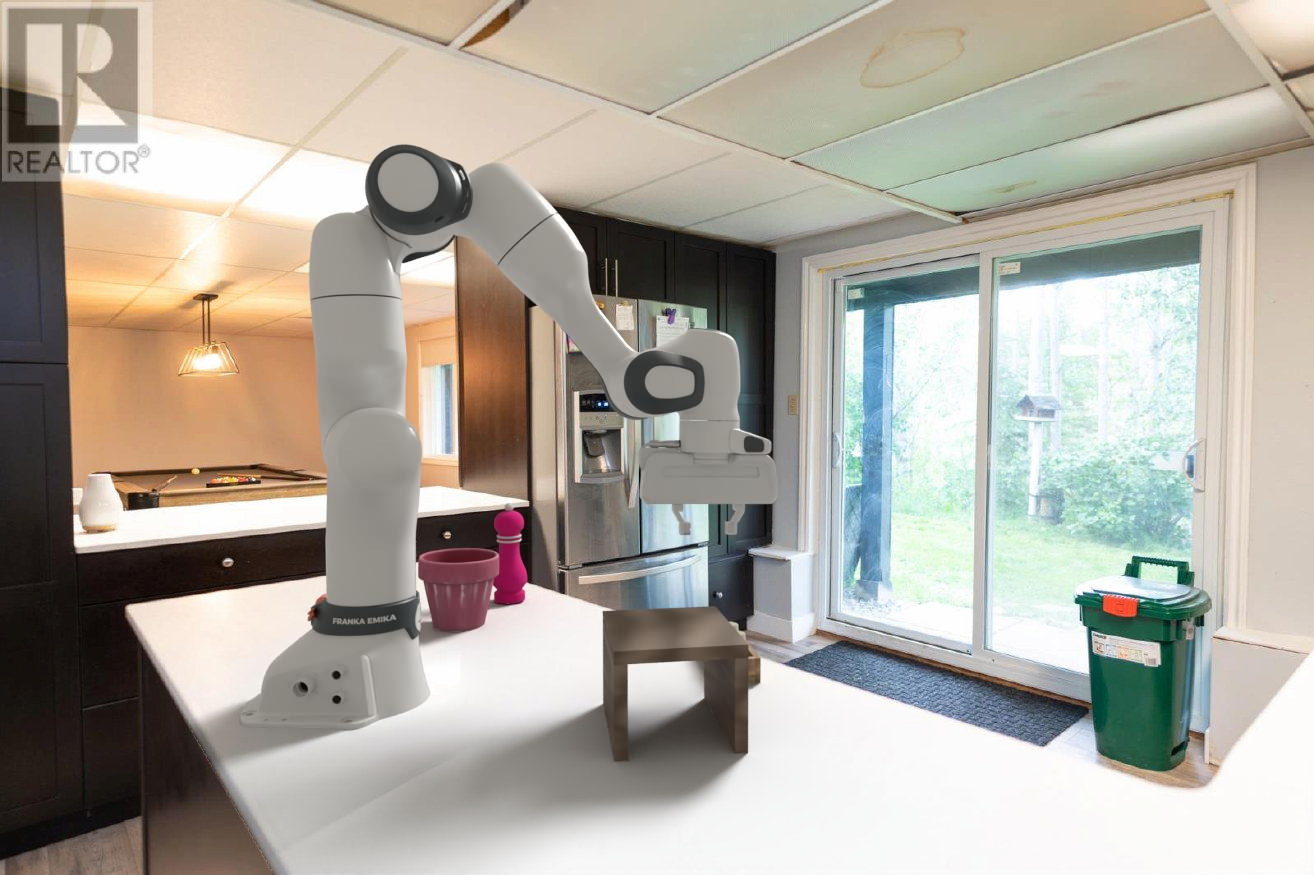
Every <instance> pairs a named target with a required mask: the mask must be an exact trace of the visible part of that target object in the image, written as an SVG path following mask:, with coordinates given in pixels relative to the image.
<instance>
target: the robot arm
mask: <svg viewBox="0 0 1314 875" xmlns="http://www.w3.org/2000/svg"><path fill="white" fill-rule="evenodd" d="M368 166H369V167H368V168H367V173H366V175H365V180H364V181H365V183H364V184H365V185H364V190H365V191H364V193H365V198H366V201H367V204H366V205H365V206H364V207H363V208H362V209H361V210H357V211H354V212H351V211H350V212H337V213H334V214H331V215H329V216H327V217H325V218H323V219H322V218H321V220H320V221H319V222H318V223H316V225H315V226H314V227H313V228H314V229H313V231H312V235H311V243H310V247H309V248H310V251H309V266H308V269H309V270H308V279H309V281H308V285H309V301H310V302H309V303H310V312H311V313H310V314H311V322H312V335H313V346H314V357H315V370H316V372H315V373H316V386H317V388H316V389H317V390H316V391H317V402H318V404H317V405H318V417H319V433H320V444H321V445H320V448H321V456H322V460H323V463H324V465H325V466H326V514H325V515H326V519H325V523H326V524H325V580H326V581H325V586H326V588H325V589H326V590H325V593H323V594H321V595H320V597H318V598H317V599H316V600H315V602H314V604H313V605H312V606H311V607H310V610H309V611H308V612H307V615H308V617H307V621H308V622H310V626H311V629H309V630H307V632H306V633H304V634H303V635H302V636H300V637H299V638H297V640H295V641H294V642H293V643H291V645H289V646H288V647H287V648H286V649H285V650H283V651H282V652H281V653H280V654H279V655H277V656H276V657H275V659H273V660H272V661H271V663H270V664H269V666H268V667H267V669H266V671H265V674H264V675H263V676H264V677H263V680H262V684H261V687H260V688H261V689H260V693H259V694H257V695H255V696H254V697H253V698H252V699H251V700H249V702H247V704H245V706H244V708H242V710H241V713H240V715H239V723H240V725H241V726H242V727H244V728H245V727H247V728H248V727H249V728H278V729H279V728H281V729H282V728H283V729H284V728H285V729H287V728H289V729H290V728H291V729H325V730H326V729H330V730H333V729H334V730H359V729H363V728H366V727H369V726H370V725H373V724H375V723H377V722H379V721H381V720H384V719H388V718H392V717H395V716H398V715H401V714H405V713H407V712H409V711H412V710H413V709H417V708H418V707H419V706H422V705H423V704H424V703H425V702H427V701H428V699H429V698H430V696H431V690H430V686H429V684H428V681H427V677H426V674H425V669H424V664H423V660H422V653H421V646H420V645H421V644H420V636H419V635H420V633H421V629H422V603H421V599H420V592H419V591H418V590H417V564H416V563H417V550H416V549H417V546H416V545H417V544H416V543H417V540H416V539H417V538H416V537H417V524H418V515H419V507H420V506H419V505H420V495H421V493H420V492H421V480H422V479H421V478H422V458H423V446H422V440H421V439H420V435H419V433H418V431H417V429H416V427H415V426H414V425H413V424H412V422H411V421H409V419H407V417H406V414H407V413H406V408H407V406H406V405H407V404H406V403H407V402H406V399H407V398H406V395H407V394H406V392H407V391H406V387H407V386H406V385H407V368H408V367H407V364H408V356H407V355H408V354H407V353H408V352H407V344H406V333H405V330H406V329H405V320H404V319H405V316H404V306H403V296H402V286H401V285H402V284H401V269H402V264H407V263H410V262H413V261H415V260H419V259H422V258H425V257H429V256H432V255H436V254H437V253H440V252H442V251H444V250H445V249H446V248H448V246H451V243H452V242H453V241H454V240H455V238H456V237H462V238H465V239H468V240H470V241H472V242H473V243H475V245H476V246H478V247H480V249H482V250H483V251H484V253H486V255H487V257H489V258H490V260H491V261H492V262H493V263H494V265H495V266H496V267H497V268H498V269H499V270H500V272H501V273H502V274H503V275H505V277H506V278H507V279H508V280H509V281H510V282H511V283H512V284H513V285H514V286H515V287H516V288H517V289H519V291H520V292H521V293H523V294H524V295H525V296H526V297H527V298H528V299H529V300H530V301H532V303H534V304H535V305H536V306H537V307H539V308H540V309H541V310H542V311H543V312H544V313H545V314H546V315H547V316H548V317H549V318H550V319H552V321H554V322H555V323H556V324H557V325H558V327H559V328H560V329H562V330H561V331H563V332H564V333H565V335H566V336H567V337H568V338H569V340H570V341H571V342H572V343H573V344H574V345H575V347H576V348H577V349H578V350H579V352H580V353H581V354H582V356H583V357H585V359H586V360H587V361H588V362H589V364H590V365H591V366H592V368H593V369H594V370H595V372H596V374H597V375H598V377H599V380H600V383H601V385H602V388H603V392H604V394H605V397H606V401H607V402H608V404H609V405H610V407H611V409H613V411H615V412H616V413H617V414H618V415H619V416H621V417H623V418H625V419H627V420H628V419H629V420H631V421H633V420H634V421H643V420H647V419H650V418H652V419H653V418H659V417H664V416H666V415H667V416H668V415H670V414H672V413H677V414H678V415H679V431H678V432H679V434H678V435H679V436H678V438H679V439H677V440H675V439H674V440H673V439H667V440H656V439H654V440H653V439H652V440H649V442H646V443H644V444H643V445H642V446H640V448H639V451H638V466H639V468H640V469H641V475H640V482H639V498H640V499H641V501H642V502H643V503H645V504H646V505H671V511H672V513H673V515H674V517H675V518H676V521H677V522H678V534H679V535H680V536H691V533H692V532H691V528H692V526H691V525H692V523H690V521H685V520H684V518H683V517H682V515H681V513H682V512H684V505H732V510H733V511H735V512H734V514H732V517H731V518H730V520H729V521H726V520H725V521H724V527H725V528H724V533H725V535H728V536H729V535H730V536H731V535H732V536H735V535H738V523H739V522H740V520H741V519H742V517H743V516H744V514H745V513H746V512H745V511H746V505H769V504H770V505H772V504H773V503H774V502H775V501H776V499H777V498H778V494H779V493H778V474H777V468H776V463H775V461H774V460H773V458H772V457H771V456H770V455H769V454H770V453H771V451H772V441H771V440H770V439H767V438H765V437H762V436H759V435H756V434H753V433H752V432H750V431H745V430H742V429H741V428H740V427H741V426H740V425H741V424H740V423H741V422H740V421H741V420H740V419H741V418H740V413H739V410H738V401H739V397H740V394H741V365H740V352H739V348H738V345H737V342H736V340H735V338H733V337H732V336H731V335H730V334H728V333H727V332H724V331H721V330H717V329H713V328H707V327H705V328H704V327H694V328H693V327H692V328H689V329H687V330H685V332H684V333H682V334H681V335H680V336H678V337H676V338H674V339H671V340H670V341H669V342H666V343H663V344H661V345H658V346H656V347H653V348H649V349H646V350H643V351H641V352H638V351H636V350H635V349H633V348H632V347H631V346H630V345H628V344H627V342H626V341H625V340H624V338H623V337H622V336H621V334H620V333H619V332H618V331H617V329H616V328H615V326H613V325H612V323H611V322H610V320H609V319H608V318H607V317H606V315H604V313H603V312H602V310H601V309H600V308H599V306H598V304H597V303H596V301H595V298H594V296H593V293H592V290H591V287H590V286H591V285H590V279H589V266H588V264H589V263H588V256H587V254H586V252H585V250H584V248H583V246H582V245H581V243H580V241H579V239H578V237H577V236H576V235H575V233H574V231H573V229H571V227H570V226H569V224H568V223H567V221H566V220H565V219H564V218H563V217H562V215H560V214H559V213H558V211H557V210H556V209H555V208H554V206H552V204H551V203H550V202H549V201H548V200H547V199H546V198H545V197H544V196H543V195H542V194H541V193H540V192H539V191H538V190H537V189H536V188H535V187H534V186H533V185H532V184H531V183H529V181H528V180H526V179H525V178H524V177H522V175H521V174H519V173H518V172H516V171H515V170H514V169H513V168H511V167H510V166H508V165H507V164H504V163H501V162H492V163H491V162H490V163H486V164H484V165H481V166H479V167H477V168H476V169H474V170H472V171H471V172H469V173H468V172H467V169H466V168H465V167H464V166H463V165H462V164H460V163H459V162H455V161H453V160H450V159H448V158H446V157H443V156H440V155H439V154H436V153H435V152H433V151H430V150H429V149H426V148H423V147H420V146H417V145H413V144H406V143H405V144H403V143H401V144H396V145H391V146H389V147H387V148H385V149H383V150H382V151H380V152H379V153H378V154H377V155H376V156H375V157H374V159H373V160H372V161H371V163H370V165H368Z"/></svg>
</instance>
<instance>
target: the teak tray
mask: <svg viewBox="0 0 1314 875" xmlns="http://www.w3.org/2000/svg"><path fill="white" fill-rule="evenodd" d="M729 623H730V624H731V625H732V626H733V627H734V628H735V630H736V631H737V632H738V633H739V634H740V635H741V636H742V638H743V639H744V640H745V641H746V642H747V643H748V684H758V683H762V682H761V680H762V678H761V670H762V669H761V667H762V666H761V663H762V662H761V661H762V660H761V657H760V655H759V654H758V653H757V652H756V650H755V649H754V647H753V646H752V645H751V644H750V643H749V640H747V638H746V637H747V636H746V633H745V632H744V631H741V630H740V629H739V624H738V622H734V621H729Z"/></svg>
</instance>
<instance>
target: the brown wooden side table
mask: <svg viewBox="0 0 1314 875" xmlns="http://www.w3.org/2000/svg"><path fill="white" fill-rule="evenodd" d="M729 622H730V621H729V620H728V619H727V618H726V617H725V616H724V614H723V613H722V612H721V611H720V610H719V609H718V607H716V606H715V605H714V606H712V605H711V606H710V605H709V606H708V605H707V606H688V607H687V606H686V607H665V608H664V607H662V608H660V607H659V608H645V609H644V608H640V609H624V610H623V609H622V610H621V609H617V610H602V701H603V702H602V704H603V710H604V715H605V721H606V727H607V730H608V731H607V732H608V738H609V741H610V747H611V752H612V758H613V762H614V763H617V762H619V763H620V762H629V729H628V728H629V709H628V708H629V699H628V698H629V696H628V695H629V690H628V689H629V686H628V685H629V681H628V678H629V676H628V675H629V673H628V671H629V670H628V667H629V665H642V664H659V663H661V664H663V663H674V662H675V663H679V662H694V661H695V662H697V661H703V699H704V700H705V702H706V704H707V706H708V708H709V710H710V712H711V714H712V715H713V717H714V719H715V721H716V722H717V724H718V726H719V728H720V729H721V731H722V732H723V735H724V737H725V738H726V741H727V742H728V744H729V745H730V747H731V749H732V751H733V752H734V754H735V755H736V754H739V755H740V754H748V753H749V683H748V643H747V642H746V641H745V640H744V639H743V638H742V636H741V635H740V634H739V633H738V632H737V631H736V630H735V628H734V627H733V626H732V625H731V624H730V623H729Z"/></svg>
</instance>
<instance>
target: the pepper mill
mask: <svg viewBox="0 0 1314 875" xmlns="http://www.w3.org/2000/svg"><path fill="white" fill-rule="evenodd" d="M524 525H525V521H524V517H523V515H522V514H521V513H520V512H519V511H516V510H514V505H513V503H511V502H508V503H506V504H505V505H504V511H502V512H499V513H498V514H497V515H496V516H495V518H494V521H493V526H494V529H495V531H496V532H497V533H498V534H497V535H496V542H497V543H498V548H499V549H498V554H499V574H498V575H497V576H496V577H495V578H494V581H493V586H492V587H494V588H495V589H496V590H495V591H494V592H493V600H494V603H496V604H502V605H510V604H517V603H518V604H519V603H522V602H524V601H525V600H526V591H525V589H523V588H524V587H525V585H526V584H527V582H528V573H527V569H526V567H525V565H524V563H523V559H522V557H521V554H520V553H521V550H520V542H521V541H522V534H521V531H522V530H523V529H524Z"/></svg>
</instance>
